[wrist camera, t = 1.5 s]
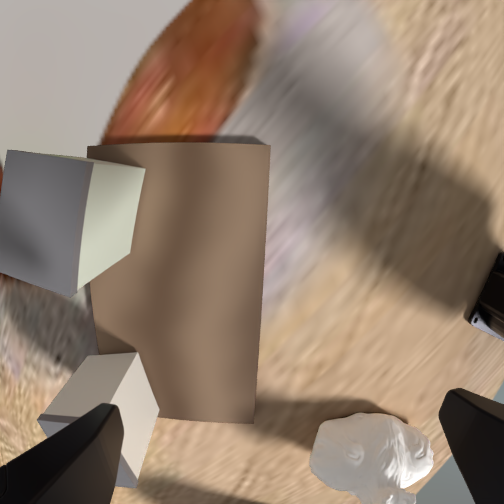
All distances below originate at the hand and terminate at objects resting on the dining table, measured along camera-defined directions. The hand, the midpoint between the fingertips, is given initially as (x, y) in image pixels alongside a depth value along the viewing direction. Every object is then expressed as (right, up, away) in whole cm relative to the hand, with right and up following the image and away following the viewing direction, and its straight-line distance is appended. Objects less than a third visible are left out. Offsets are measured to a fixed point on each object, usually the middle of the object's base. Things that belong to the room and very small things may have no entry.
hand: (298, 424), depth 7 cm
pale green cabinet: (-10, +7, +10) cm, 16 cm away
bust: (+8, -12, +17) cm, 22 cm away
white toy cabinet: (-10, -5, +13) cm, 17 cm away
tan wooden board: (-7, +1, +13) cm, 15 cm away
